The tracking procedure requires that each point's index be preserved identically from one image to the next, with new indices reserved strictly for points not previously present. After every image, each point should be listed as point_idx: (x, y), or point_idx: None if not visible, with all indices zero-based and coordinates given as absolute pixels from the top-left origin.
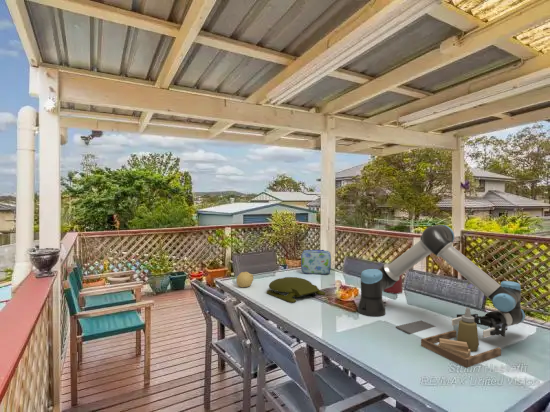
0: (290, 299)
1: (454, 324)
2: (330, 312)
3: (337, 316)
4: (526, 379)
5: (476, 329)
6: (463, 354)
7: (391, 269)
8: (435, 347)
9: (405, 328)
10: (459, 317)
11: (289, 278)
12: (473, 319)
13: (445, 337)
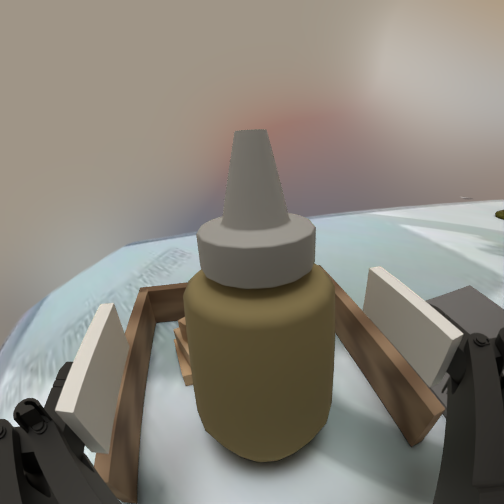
0: (498, 211)
1: (371, 313)
2: (490, 234)
3: (477, 236)
4: (16, 401)
5: (188, 332)
6: None
7: None
8: None
9: (464, 299)
10: (435, 315)
11: None
12: (197, 241)
13: (374, 360)
